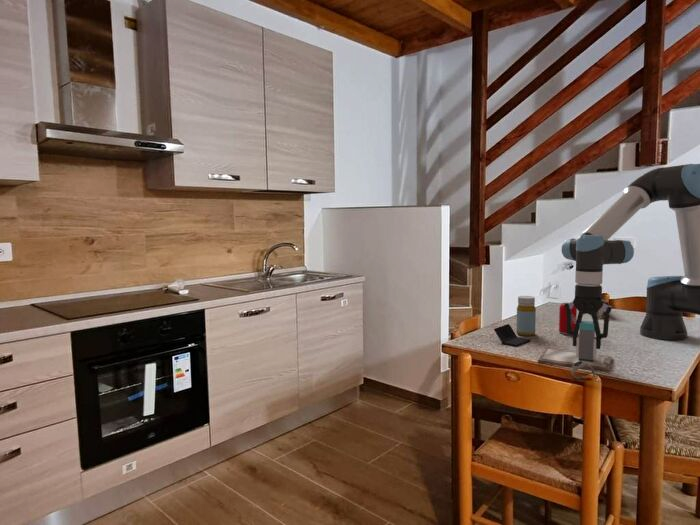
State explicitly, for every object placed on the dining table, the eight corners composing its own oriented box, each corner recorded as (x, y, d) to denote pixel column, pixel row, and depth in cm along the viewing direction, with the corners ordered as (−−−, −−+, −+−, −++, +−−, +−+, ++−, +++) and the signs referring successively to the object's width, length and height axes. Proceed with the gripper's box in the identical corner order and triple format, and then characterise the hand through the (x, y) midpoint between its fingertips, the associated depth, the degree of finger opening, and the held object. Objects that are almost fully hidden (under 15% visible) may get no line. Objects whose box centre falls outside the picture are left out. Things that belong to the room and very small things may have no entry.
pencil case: (610, 319, 208) (611, 297, 207) (589, 318, 210) (590, 297, 209) (597, 309, 229) (597, 290, 228) (578, 309, 231) (578, 290, 230)
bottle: (535, 332, 186) (536, 296, 184) (534, 337, 180) (535, 299, 178) (517, 331, 189) (517, 295, 187) (515, 335, 182) (516, 298, 181)
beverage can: (578, 335, 181) (578, 305, 179) (561, 335, 182) (561, 305, 181) (573, 331, 187) (574, 302, 186) (557, 331, 188) (557, 302, 187)
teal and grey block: (594, 358, 148) (595, 321, 147) (592, 362, 144) (594, 324, 143) (579, 356, 150) (581, 320, 149) (578, 360, 146) (579, 322, 145)
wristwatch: (569, 376, 135) (569, 359, 135) (591, 376, 134) (591, 360, 134) (574, 380, 132) (574, 363, 131) (596, 380, 131) (597, 363, 130)
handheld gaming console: (522, 343, 165) (507, 319, 169) (506, 353, 169) (491, 329, 173) (532, 341, 174) (517, 318, 178) (516, 350, 178) (502, 327, 182)
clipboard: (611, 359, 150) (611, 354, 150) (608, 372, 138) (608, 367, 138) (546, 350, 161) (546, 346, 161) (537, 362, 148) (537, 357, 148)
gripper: (620, 284, 143) (617, 358, 145) (560, 281, 152) (558, 350, 154) (619, 287, 137) (616, 364, 139) (557, 284, 146) (555, 356, 148)
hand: (586, 357), depth 146 cm, fingers closed on teal and grey block, 4 cm apart
